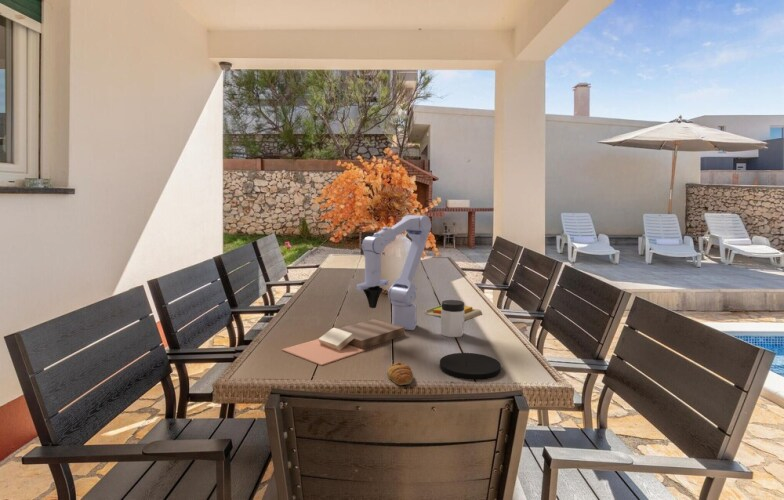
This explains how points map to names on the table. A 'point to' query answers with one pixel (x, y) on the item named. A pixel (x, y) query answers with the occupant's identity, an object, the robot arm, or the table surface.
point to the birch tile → (336, 338)
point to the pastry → (400, 373)
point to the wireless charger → (470, 366)
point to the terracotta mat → (321, 352)
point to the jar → (452, 318)
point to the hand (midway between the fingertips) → (372, 307)
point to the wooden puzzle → (468, 312)
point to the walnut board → (372, 333)
